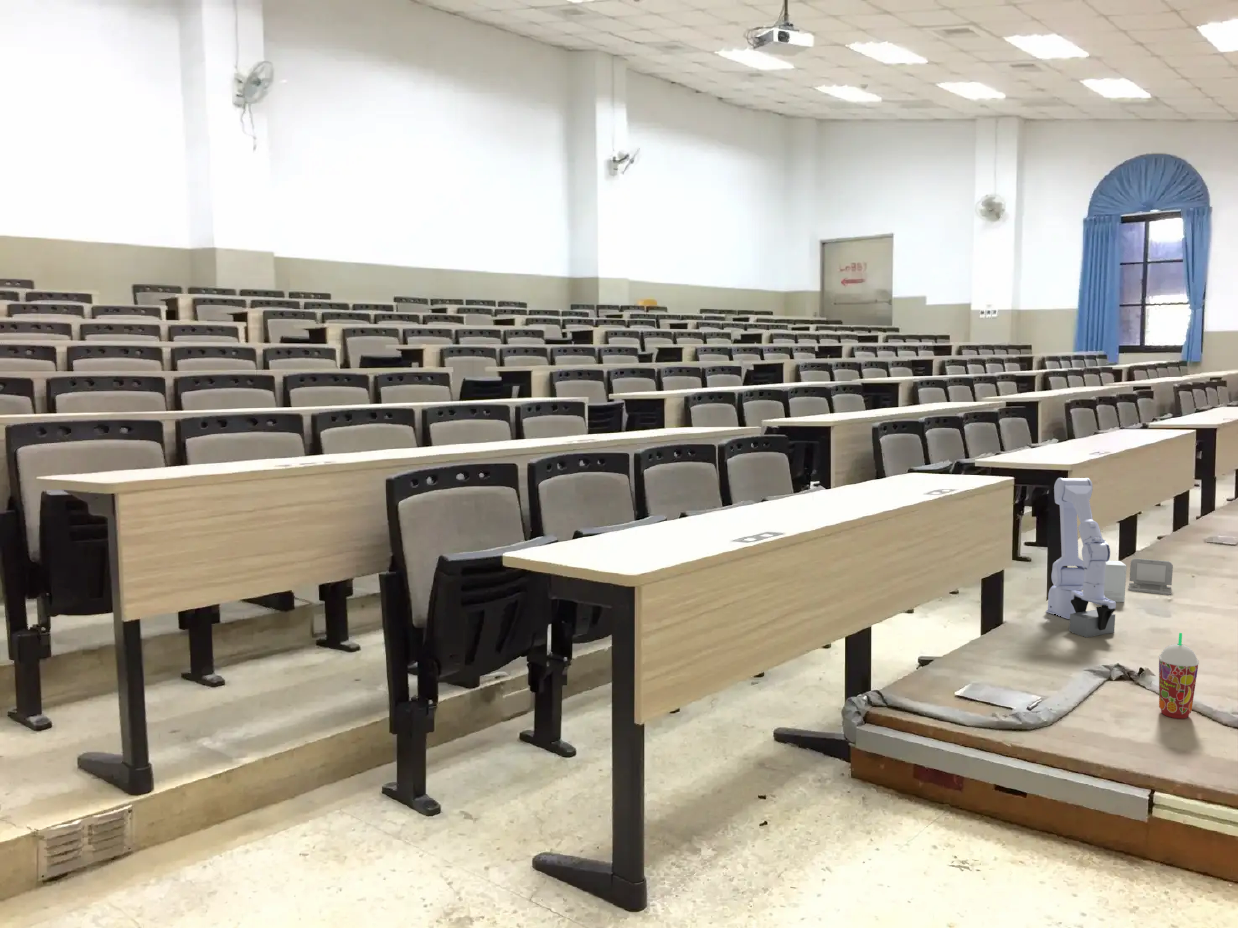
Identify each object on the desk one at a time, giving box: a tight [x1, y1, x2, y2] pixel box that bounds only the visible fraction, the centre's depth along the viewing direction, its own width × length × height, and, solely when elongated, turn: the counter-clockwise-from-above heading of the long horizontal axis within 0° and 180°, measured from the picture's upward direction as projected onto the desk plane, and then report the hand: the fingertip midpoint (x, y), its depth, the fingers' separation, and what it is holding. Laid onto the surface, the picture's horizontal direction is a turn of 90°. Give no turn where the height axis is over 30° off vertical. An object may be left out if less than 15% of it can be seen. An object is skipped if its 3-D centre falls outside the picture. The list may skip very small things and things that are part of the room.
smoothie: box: [1158, 632, 1200, 720], centre depth 239 cm, size 8×8×20 cm
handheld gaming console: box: [1127, 557, 1174, 596], centre depth 351 cm, size 13×9×10 cm
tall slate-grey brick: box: [1068, 609, 1116, 638], centre depth 304 cm, size 6×12×6 cm, turn 114°
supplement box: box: [1104, 560, 1127, 603], centre depth 340 cm, size 7×7×13 cm
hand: (1091, 626), depth 304 cm, fingers open, 7 cm apart
